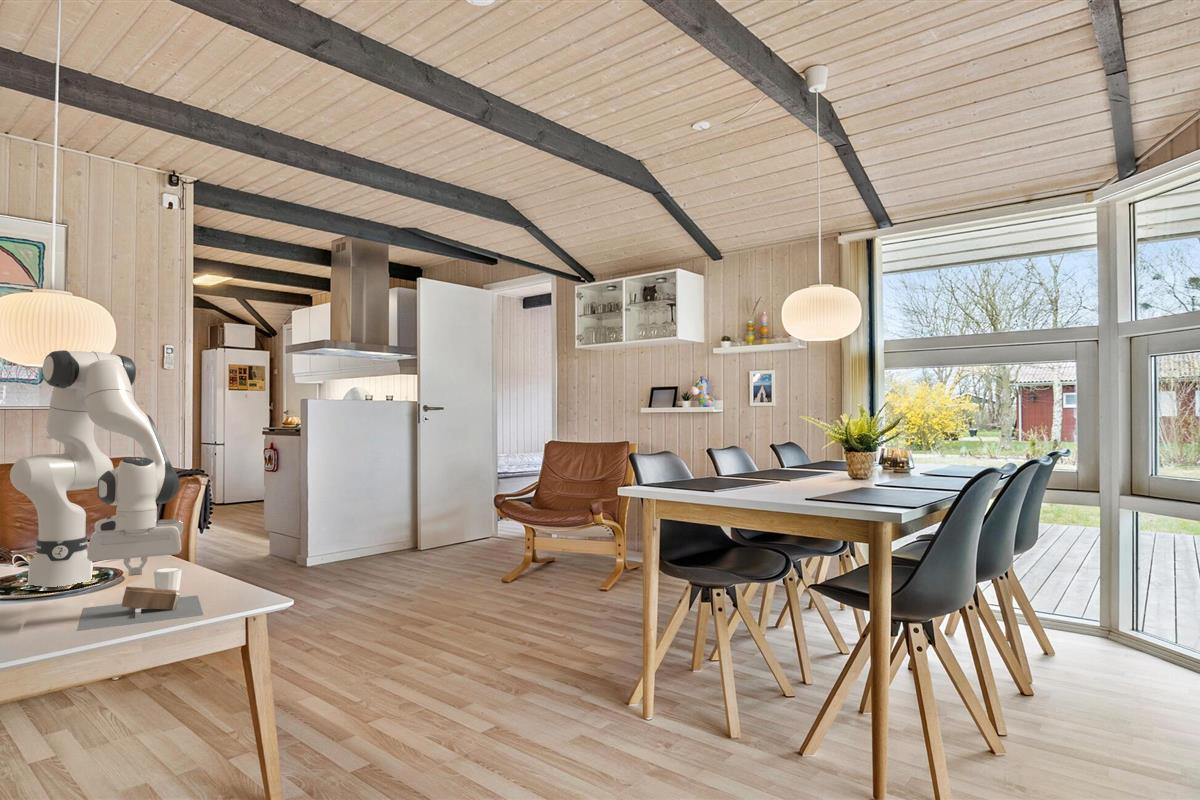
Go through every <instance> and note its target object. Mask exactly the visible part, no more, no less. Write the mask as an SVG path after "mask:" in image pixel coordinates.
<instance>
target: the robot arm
mask: <svg viewBox="0 0 1200 800" xmlns="http://www.w3.org/2000/svg"><path fill="white" fill-rule="evenodd" d="M136 376H137V369H136V365H135V362H134V361H133V359H132V358H131V357H129V356H125V355H122V354H112V353H105V352H100V351H72V350H71V351H68V350H55V351H51V352H50V353H48V354H47V355H46V356H45V359H44V361H43V363H42V377H43V380H44V381H45V382H46V383H47V384H48V385H49V386H50V387H53V389H52V393H51V397H50V402H49V409H48V414H47V422H46V429H45V430H46V432H47V434H48V435H49V436H50V438H52V439H53V440H56V441H57V442H58V443H60V444H63V446H64V451H63V453H51V454H50V453H49V454H37V455H36V454H35V455H31V456H30V455H29V456H27V457H23V458H19V459H18V460H17V461H15V462H14V464H13V465H12V466H11V468H10V472H9V479H10V483H11V484H12V486H13V487H14V488H15V489H16V490H17V491H18V492H20V493H21V494H23V495H25V496H26V497H27V498H28V499H29V500H30V501H31V503H32V504H33V506H34V508H35V510H36V513H37V521H38V527H37V528H38V537H37V538H38V539H36V542H35V543H36V544H35V552H36V554H35V556H34V557H32V558H31V559H30V560H29V561H28V573H27V582H28V585H34V586H42V587H57V586H58V587H59V586H66V585H72V584H77V583H81V582H84V581H87V580H91V579H92V572H94V570H95V569H94V568H95V567H94V566H93V562H102V561H113V560H122V559H123V565H124V566H125V568H127V570H128V571H127V572H128V573H127V574H128V575H127V577H132V576H133V577H134V576H142V575H143V568H144V566H145V565H146V564H147V562H148V558H149V557H150V558H151V557H160V556H174V555H179V554H180V553H181V551H182V540H181V535H182V534H183V532H184V523H183V522H182V521H181V520H178V519H177V518H170V519H165V518H164V519H158V517H157V516H158V506H157V504H168V502H170V501H171V500H173V499H174V498H175V496H176V495H177V494H179V491H180V478H179V476H178V474H177V472H176V470H175V468H174V467H173V465H172V463H171V461H170V459H169V456H168V454H167V451H166V449H165V446H164V444H163V441H162V439H161V436H160V434H159V431H158V428H157V427H156V426H157V425H156V424H155V422H154V420H153V419H152V417H151V416H150V415H149V414H147V413H145V412H144V411H143V410H142V409H141V408H140V407H139V405H138V404H137V403H136V399H135V397H134V396H135V395H134V392H133V388H132V385H134V382H135V381H136ZM95 425H96V426H98V427H99V428H101V429H103V430H106V431H109V432H112V433H113V432H114V433H116V434H120V435H122V436H125V437H129V438H131V439H133V440H134V441H136V442H137V443H139V445H140V447H141V450H142V452H143V453H144V456H145V457H143V456H142V457H141V456H131V457H130V456H128V457H126V458H123V459H121V460H120V461H119V464H118V466H116V467H115V468H114V465H113V461H112V460H111V458H109V456H108V455H106V454H105V453H103V452H102V451H101V450H100V448H99V447H98V444H97V442H96V438H95ZM93 488H97V498H98V500H100V501H101V502H102V503H104V504H106V505H109V506H116V509H115V510H116V511H115V515H111V516H109V517H105V518H102V519H99V520H97V521H96V522H95V523H94V532H93V533H92V535H91V536H90V538H89V539H90V540H89V542H88V536H87V535H86V530H87V524H86V523H87V522H86V520H87V513H86V510H85V509H84V508H83V507H82V506H80V505H78V504H76V503H73V502H71V501H70V500H69V498H68V496H67V492H68V491H69V492H70V491H79V490H89V489H93ZM136 558H137V559H138V558H140V562H141V563H140V564H139V566H136V567H133V566H131V564H130V563H131V559H136Z"/></svg>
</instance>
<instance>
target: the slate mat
mask: <svg viewBox="0 0 1200 800" xmlns="http://www.w3.org/2000/svg"><path fill="white" fill-rule="evenodd" d="M81 611H82V612H81V615H80V619H79V622H78V626H77V630H76V631H77V632H79V631H80V632H81V631H88V630H97V629H103V628H112V627H119V626H127V625H128V626H129V625H136V624H144V623H153V622H160V621H167V620H176V619H182V618H193V617H200V616H204V612H203V608H202V606H201V602H200V600H199V596H198V595H197V594H196V595H188V596H179V600H178V604H177V608H176V610H167V609H151V608H134V607H122V603H117V604H106V605H100V606H99V605H97V606H90V607H83V608H82V610H81Z"/></svg>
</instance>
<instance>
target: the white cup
mask: <svg viewBox="0 0 1200 800" xmlns="http://www.w3.org/2000/svg"><path fill="white" fill-rule="evenodd" d="M182 571H183V568H182V567H173V566H172V567H163V568H158V569H155V570H153V576H154V580H153V581H154V588H155V589H168V590H179V591H180V586H181V579H182Z"/></svg>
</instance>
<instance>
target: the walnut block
mask: <svg viewBox="0 0 1200 800" xmlns="http://www.w3.org/2000/svg"><path fill="white" fill-rule="evenodd" d="M180 595H181V592H180V589H179V590H168V589H155V587H154V588H153V587H138V586H126V587H125V590H124V595H123V598H122V602H121V604H122V607H134V608H151V609H167V610H176V608H177V604H178V600H179V597H181V596H180Z"/></svg>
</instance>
